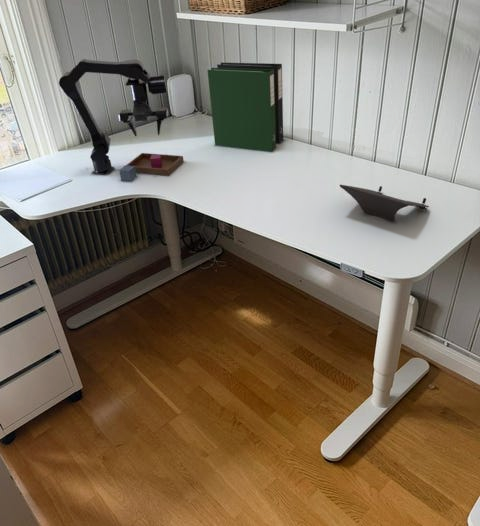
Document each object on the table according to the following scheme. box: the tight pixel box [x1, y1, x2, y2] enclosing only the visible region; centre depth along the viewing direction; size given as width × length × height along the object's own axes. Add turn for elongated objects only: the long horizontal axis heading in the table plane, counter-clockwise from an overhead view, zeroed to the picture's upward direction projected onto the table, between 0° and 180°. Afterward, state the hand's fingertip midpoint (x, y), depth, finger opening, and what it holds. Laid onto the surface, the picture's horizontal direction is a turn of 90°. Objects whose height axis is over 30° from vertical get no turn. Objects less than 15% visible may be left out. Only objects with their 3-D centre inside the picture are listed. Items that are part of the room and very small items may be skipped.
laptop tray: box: [339, 184, 430, 223], centre depth 154 cm, size 23×23×9 cm
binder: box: [206, 62, 284, 153], centre depth 206 cm, size 27×15×32 cm, turn 66°
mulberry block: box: [150, 153, 163, 168], centre depth 198 cm, size 4×4×4 cm
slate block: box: [118, 164, 138, 182], centre depth 191 cm, size 4×4×4 cm
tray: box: [126, 152, 185, 177], centre depth 199 cm, size 19×14×3 cm
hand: (147, 135), depth 194 cm, fingers open, 9 cm apart
